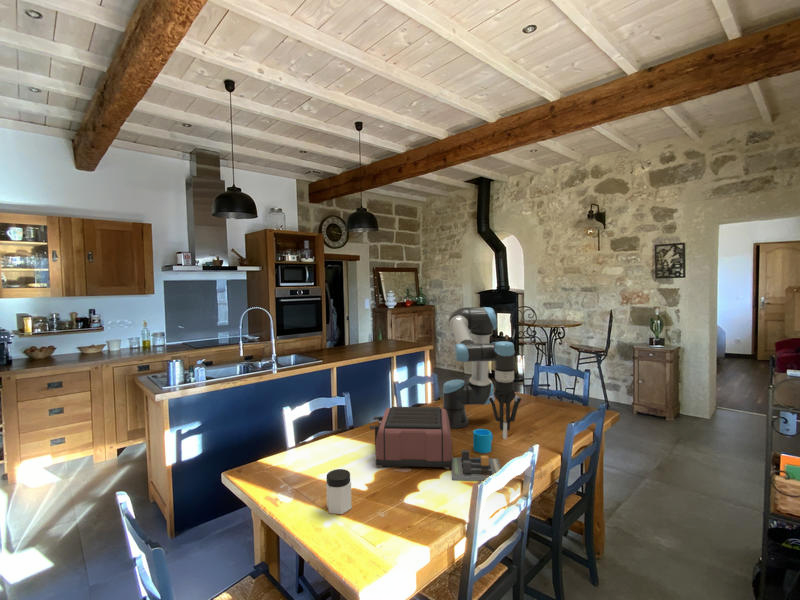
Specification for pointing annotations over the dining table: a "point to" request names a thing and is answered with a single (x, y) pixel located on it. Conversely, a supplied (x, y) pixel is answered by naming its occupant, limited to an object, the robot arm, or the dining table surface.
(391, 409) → the toaster
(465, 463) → the breaker
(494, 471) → the panel
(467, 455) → the breaker
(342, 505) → the jar
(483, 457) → the breaker
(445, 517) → the dining table surface
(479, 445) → the mug
